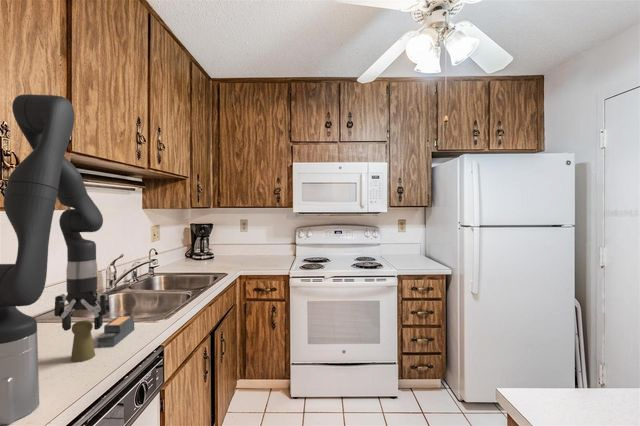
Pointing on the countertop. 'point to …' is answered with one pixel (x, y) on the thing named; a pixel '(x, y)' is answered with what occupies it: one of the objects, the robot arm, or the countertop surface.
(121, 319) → the orange button
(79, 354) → the cork
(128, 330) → the grey slotted housing
